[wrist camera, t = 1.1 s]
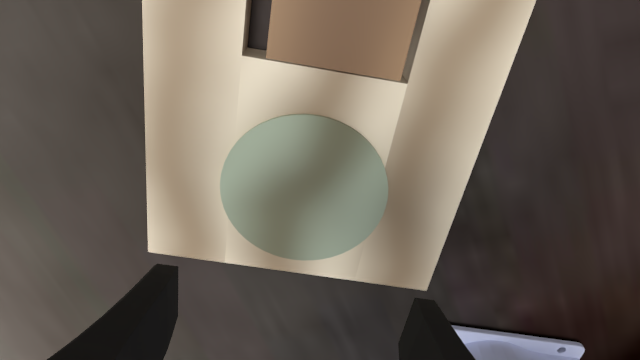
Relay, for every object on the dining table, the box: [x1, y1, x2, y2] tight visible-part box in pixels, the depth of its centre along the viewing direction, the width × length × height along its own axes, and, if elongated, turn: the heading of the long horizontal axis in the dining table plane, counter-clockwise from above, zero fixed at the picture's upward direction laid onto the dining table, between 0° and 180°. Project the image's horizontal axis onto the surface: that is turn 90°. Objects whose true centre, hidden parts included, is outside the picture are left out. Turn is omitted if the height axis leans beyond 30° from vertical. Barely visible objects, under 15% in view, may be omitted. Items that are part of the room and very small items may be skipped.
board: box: [142, 0, 536, 291], centre depth 20 cm, size 15×20×2 cm
